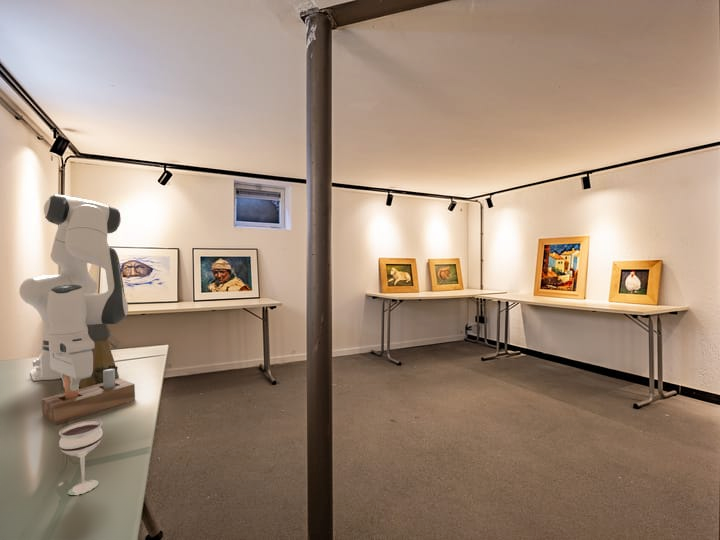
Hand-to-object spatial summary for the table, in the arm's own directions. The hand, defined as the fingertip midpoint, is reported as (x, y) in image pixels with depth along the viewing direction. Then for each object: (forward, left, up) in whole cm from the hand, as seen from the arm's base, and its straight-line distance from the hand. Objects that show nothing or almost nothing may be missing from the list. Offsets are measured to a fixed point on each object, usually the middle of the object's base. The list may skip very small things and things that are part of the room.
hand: (71, 388), depth 103 cm
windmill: (-25, +16, -8) cm, 31 cm away
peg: (0, 0, -5) cm, 5 cm away
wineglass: (+43, -12, -8) cm, 45 cm away
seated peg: (0, +10, -7) cm, 12 cm away
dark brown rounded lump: (-11, +13, -8) cm, 19 cm away
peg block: (0, +5, -7) cm, 9 cm away
